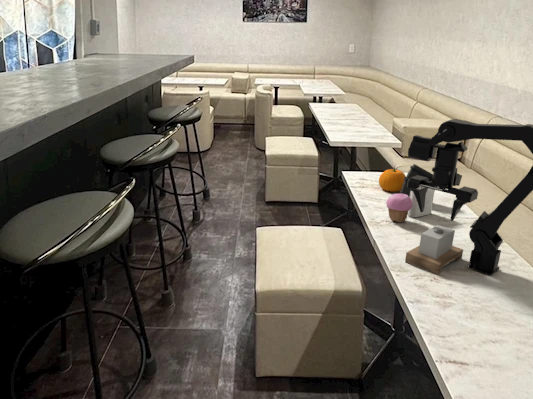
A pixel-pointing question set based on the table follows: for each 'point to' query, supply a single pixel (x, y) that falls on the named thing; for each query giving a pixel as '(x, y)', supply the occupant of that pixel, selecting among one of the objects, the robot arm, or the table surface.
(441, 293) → the table surface
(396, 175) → the fruit
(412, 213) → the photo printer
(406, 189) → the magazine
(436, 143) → the robot arm
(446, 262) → the walnut stand
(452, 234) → the block
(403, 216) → the cupcake
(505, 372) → the table surface
